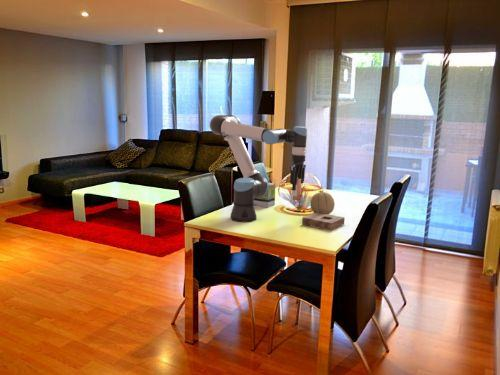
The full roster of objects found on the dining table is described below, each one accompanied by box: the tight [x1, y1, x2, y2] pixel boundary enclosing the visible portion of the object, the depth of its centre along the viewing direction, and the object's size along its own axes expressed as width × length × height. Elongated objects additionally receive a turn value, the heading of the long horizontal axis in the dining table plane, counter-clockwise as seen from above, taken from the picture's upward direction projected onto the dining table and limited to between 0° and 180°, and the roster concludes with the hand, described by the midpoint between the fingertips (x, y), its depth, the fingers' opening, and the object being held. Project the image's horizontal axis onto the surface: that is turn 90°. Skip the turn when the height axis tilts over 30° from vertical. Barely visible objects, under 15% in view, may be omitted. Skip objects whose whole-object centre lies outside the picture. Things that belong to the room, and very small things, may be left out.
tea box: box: [254, 182, 276, 208], centre depth 287 cm, size 15×10×15 cm
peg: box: [292, 178, 302, 201], centre depth 246 cm, size 4×4×12 cm
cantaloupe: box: [309, 190, 336, 215], centre depth 262 cm, size 15×15×15 cm
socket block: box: [301, 212, 346, 231], centre depth 244 cm, size 18×16×4 cm
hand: (296, 194), depth 247 cm, fingers closed on peg, 4 cm apart
